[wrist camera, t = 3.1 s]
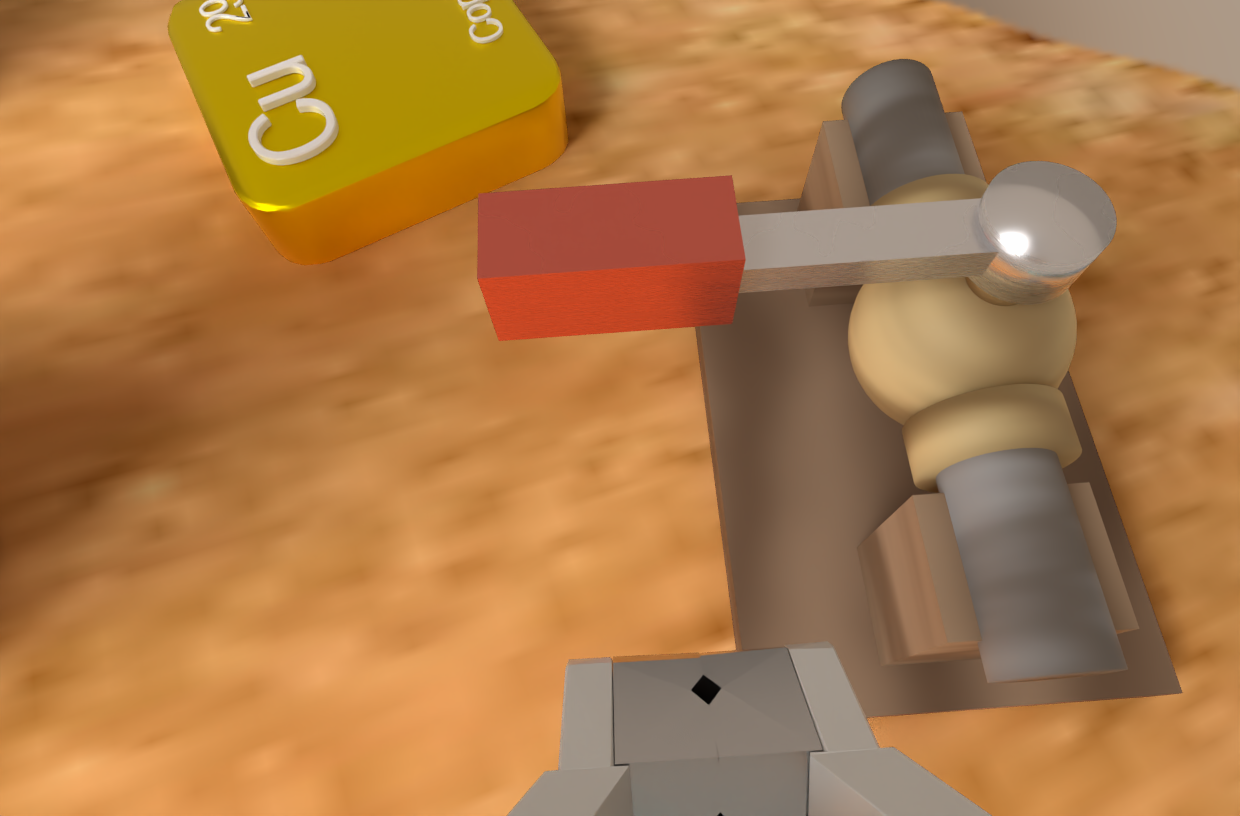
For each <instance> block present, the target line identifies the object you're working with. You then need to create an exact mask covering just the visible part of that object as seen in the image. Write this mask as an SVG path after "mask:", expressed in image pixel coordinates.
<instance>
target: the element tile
mask: <svg viewBox="0 0 1240 816" xmlns="http://www.w3.org/2000/svg"><path fill="white" fill-rule="evenodd" d="M168 33H169V37H170V39H171V42H172V44H173V47H174V49H175V51H176V54H177V56H178V59H179V61H180V63H181V66H182V68H183V70H184V73H185V75H186V78H187V80H188V82H189V85H190V87H191V89H192V92H193V94H194V97H195V99H196V101H197V104H198V106H199V108H200V111H201V113H202V116H203V118H204V120H205V123H206V125H207V127H208V130H209V132H210V135H211V137H212V139H213V142H214V144H215V146H216V149H217V151H218V154H219V156H220V158H221V161H222V163H223V165H224V168H225V170H226V173H227V175H228V177H229V180H230V182H231V185H232V187H233V189H234V192H235V193H236V195H237V196H238V198H239V199H240V201H241V202H242V203H243V205H244V206H245V208H246V209H247V210H248V212H249V213H250V214H251V216H252V217H253V219H254V220H255V221H256V223H257V224H258V225H259V227H260V228H261V229H262V231H263V232H264V234H265V235H266V236H267V238H268V239H269V240H270V242H271V243H272V245H273V246H274V247H275V249H276V250H277V251H278V253H279V254H281V255H282V256H283V257H285V258H286V259H287V260H289V261H290V262H293V263H297V264H301V265H313V264H322V263H326V262H330V261H333V260H335V259H337V258H339V257H342V256H344V255H346V254H349V253H351V252H353V251H355V250H358V249H360V248H362V247H365V246H367V245H369V244H372V243H374V242H376V241H378V240H381V239H383V238H385V237H388V236H390V235H392V234H395V233H397V232H399V231H401V230H404V229H406V228H408V227H411V226H413V225H415V224H417V223H420V222H422V221H424V220H427V219H429V218H431V217H434V216H436V215H438V214H440V213H443V212H445V211H447V210H450V209H452V208H454V207H456V206H459V205H461V204H463V203H466V202H468V201H470V200H473V199H475V198H477V197H478V194H480V193H489V192H491V191H493V190H496V189H498V188H500V187H502V186H505V185H507V184H509V183H512V182H514V181H516V180H518V179H521V178H523V177H525V176H528V175H530V174H532V173H535V172H537V171H539V170H541V169H544V168H545V167H547V166H549V165H550V164H552V163H554V162H555V161H556V160H557V159H558V158H559V157H560V156H561V155H562V154H563V153H564V151H565V149H566V146H567V144H568V131H567V122H566V114H565V105H564V97H563V89H562V80H561V72H560V69H559V67H558V65H557V63H556V60H555V58H554V57H553V56H552V54H551V53H550V51H549V50H548V49H547V47H546V46H545V45H544V43H543V42H542V40H541V39H540V38H539V36H538V35H537V33H536V32H535V31H534V29H533V28H532V27H531V25H530V24H529V22H528V21H527V20H526V18H525V17H524V15H523V14H522V13H521V11H520V10H519V8H518V7H517V6H516V4H515V3H514V2H513V0H182V1H180V2H178V3H177V4H176V5H175V6H174V7H173V10H172V13H171V14H170V17H169V22H168Z"/></svg>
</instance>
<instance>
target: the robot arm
mask: <svg viewBox="0 0 1240 816" xmlns="http://www.w3.org/2000/svg"><path fill="white" fill-rule="evenodd" d="M507 816H992V815H990V814H989V813H987V812H986V811H985V810H983V809H982V808H980V807H979V806H977V805H976V804H975V803H973V802H972V801H970V800H969V799H967V798H966V797H965V796H963V795H962V794H960V793H959V792H957V791H956V790H954V789H953V788H952V787H950V786H949V785H947V784H946V783H944V782H943V781H942V780H940V779H939V778H937V777H936V776H934V775H933V774H932V773H930V772H929V771H927V770H926V769H924V768H923V767H922V766H920V765H919V764H917V763H916V762H914V761H913V760H912V759H910V758H909V757H907V756H906V755H904V754H903V753H902V752H900V751H899V750H897V749H896V748H894V747H890V748H880V747H879V745H878V743H877V740H876V738H875V736H874V734H873V732H872V729H871V727H870V725H869V723H868V721H867V718H866V716H865V714H864V712H863V710H862V708H861V705H860V703H859V701H858V699H857V697H856V694H855V692H854V690H853V688H852V686H851V683H850V681H849V679H848V677H847V675H846V672H845V670H844V668H843V666H842V664H841V661H840V659H839V657H838V655H837V653H836V650H835V648H834V646H833V645H831V644H830V643H829V642H828V641H824V642H814V643H803V644H793V645H784V647H774V648H760V649H747V650H734V651H720V652H707V653H680V654H659V655H637V656H616V657H613V660H612V658H610V657H604V658H587V659H570V660H569V661H568V663H567V666H566V670H565V684H564V698H563V712H562V725H561V739H560V753H559V767H558V770H556V771H545V772H544V773H543V774H542V775H541V776H540V777H539V778H538V780H537V781H536V782H535V783H534V784H533V785H532V787H531V788H530V789H529V790H528V791H527V792H526V794H525V795H524V796H523V797H522V798H521V799H520V801H519V802H518V803H517V804H516V805H515V806H514V808H513V809H512V810H511V811H510V812H509V813H508V815H507Z"/></svg>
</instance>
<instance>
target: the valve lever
mask: <svg viewBox="0 0 1240 816" xmlns="http://www.w3.org/2000/svg"><path fill="white" fill-rule="evenodd" d="M1115 231H1116V213H1115V210H1114V207H1113V204H1112V202H1111V201H1110V199H1109V197H1108V196H1107V194H1106V193H1105V192H1104V191H1103V189H1102V188H1101V187H1100V186H1099V185H1098V184H1097V183H1096V182H1094V181H1093V180H1092V179H1090V178H1089V177H1088V176H1086V175H1084V174H1083V173H1081V172H1079V171H1077V170H1075V169H1073V168H1070V167H1068V166H1065V165H1061V164H1058V163H1053V162H1046V161H1029V162H1022V163H1018V164H1015V165H1012V166H1010V167H1008V168H1006V169H1004V170H1003V171H1001V172H1000V173H998V174H997V175H996V176H995V177H994V178H993V180H992V181H991V183H990V184H989V186H988V187H987V189H986V191H985V192H984V194H983V196H982V197H981V198H978V199H964V200H950V201H936V202H922V203H909V204H895V205H881V206H867V207H853V208H839V209H825V210H811V211H797V212H783V213H769V214H755V215H741V216H738V210H737V204H736V198H735V192H734V186H733V180H732V176H718V177H704V178H690V179H676V180H662V181H648V182H634V183H620V184H606V185H592V186H578V187H564V188H550V189H536V190H522V191H508V192H494V193H480V194H478V270H477V279H478V282H479V285H480V288H481V291H482V293H483V296H484V299H485V302H486V305H487V308H488V311H489V314H490V316H491V319H492V322H493V325H494V328H495V331H496V334H497V337H498V340H499V341H503V340H517V339H531V338H545V337H559V336H572V335H586V334H600V333H614V332H628V331H641V330H655V329H669V328H683V327H697V326H710V325H724V324H732V322H733V317H734V312H735V307H736V303H737V298H738V293H749V292H763V291H777V290H791V289H804V288H818V287H832V286H846V285H860V284H874V283H887V282H901V281H915V280H929V279H943V278H957V277H969V279H970V280H971V281H972V282H973V283H974V284H975V285H977V286H978V287H979V288H980V289H982V290H983V291H985V292H986V293H988V294H990V295H991V296H993V297H996V298H998V299H1000V300H1003V301H1007V302H1010V303H1015V304H1024V305H1031V304H1040V303H1044V302H1048V301H1051V300H1053V299H1055V298H1057V297H1059V296H1060V295H1062V294H1063V293H1064V292H1065V291H1066V290H1067V289H1068V288H1069V287H1070V286H1071V285H1072V284H1073V283H1074V282H1075V280H1076V279H1077V278H1078V277H1079V276H1080V275H1081V274H1082V273H1083V272H1084V271H1085V270H1086V269H1087V267H1088V266H1089V265H1090V264H1091V263H1092V262H1093V261H1094V260H1095V259H1096V258H1097V257H1098V256H1099V254H1100V253H1101V252H1102V251H1103V250H1104V249H1105V248H1106V247H1107V246H1108V245H1109V243H1110V242H1111V240H1112V239H1113V237H1114V234H1115Z"/></svg>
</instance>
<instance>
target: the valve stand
mask: <svg viewBox="0 0 1240 816" xmlns="http://www.w3.org/2000/svg"><path fill="white" fill-rule="evenodd" d="M841 108H842V114H843V118H844V120H836V121H823V123H822V127H821V130H820V133H819V137H818V140H817V144H816V147H815V151H814V154H813V158H812V161H811V165H810V168H809V172H808V175H807V178H806V182H805V185H804V189H803V192H802V196H801V199H788V200H774V201H760V202H747V203H736V204H737V210H738V216H741V215H755V214H769V213H783V212H797V211H811V210H825V209H839V208H853V207H867V206H881V205H895V204H909V203H922V202H936V201H950V200H964V199H978V198H981V197H982V196H983V194H984V192H985V191H986V189H987V187H988V186H989V184H987V183H986V180H985V177H984V174H983V171H982V168H981V165H980V163H979V160H978V157H977V154H976V151H975V148H974V145H973V142H972V139H971V136H970V133H969V130H968V128H967V125H966V122H965V119H964V116H963V113H962V112H949V113H944V110H943V107H942V104H941V101H940V97H939V94H938V91H937V88H936V85H935V82H934V79H933V76H932V74H931V71H930V70H929V68H928V67H927V66H925V65H924V64H922V63H921V62H918V61H915V60H910V59H898V60H892V61H888V62H884V63H881V64H879V65H877V66H874V67H873V68H871V69H869V70H867V71H866V72H864V73H863V74H862V75H860V76H859V77H858V78H857V79H856V80H855V81H854V82H853V83H852V84H851V85H850V86H849V88H848V89H847V91H846V93H845V94H844V97H843V100H842V107H841ZM695 329H696V337H697V345H698V352H699V360H700V368H701V376H702V384H703V392H704V400H705V408H706V415H707V423H708V431H709V439H710V447H711V455H712V463H713V471H714V478H715V486H716V494H717V502H718V510H719V518H720V526H721V534H722V541H723V549H724V557H725V565H726V573H727V581H728V589H729V597H730V604H731V612H732V620H733V628H734V636H735V644H736V650H747V649H760V648H774V647H784V645H793V644H803V643H814V642H824V641H828V642H829V643H830V644H831V645H833V646H834V648H835V650H836V653H837V655H838V657H839V659H840V661H841V664H842V666H843V668H844V670H845V672H846V675H847V677H848V679H849V681H850V683H851V686H852V688H853V690H854V692H855V694H856V697H857V699H858V701H859V703H860V705H861V708H862V710H863V712H864V714H865V716H866V718H871V717H884V716H897V715H911V714H924V713H937V712H951V711H964V710H977V709H990V708H1004V707H1017V706H1030V705H1044V704H1057V703H1070V702H1084V701H1097V700H1110V699H1124V698H1137V697H1150V696H1161V695H1170V694H1179V693H1182V690H1181V687H1180V684H1179V681H1178V679H1177V676H1176V673H1175V670H1174V667H1173V665H1172V662H1171V659H1170V656H1169V653H1168V650H1167V648H1166V645H1165V642H1164V639H1163V636H1162V633H1161V631H1160V628H1159V625H1158V622H1157V619H1156V616H1155V614H1154V611H1153V608H1152V605H1151V602H1150V600H1149V597H1148V594H1147V591H1146V588H1145V585H1144V583H1143V580H1142V577H1141V574H1140V571H1139V568H1138V566H1137V563H1136V560H1135V557H1134V554H1133V552H1132V549H1131V546H1130V543H1129V540H1128V537H1127V535H1126V532H1125V529H1124V526H1123V523H1122V520H1121V518H1120V515H1119V512H1118V509H1117V506H1116V504H1115V501H1114V498H1113V495H1112V492H1111V489H1110V487H1109V484H1108V481H1107V478H1106V475H1105V472H1104V470H1103V467H1102V464H1101V461H1100V458H1099V456H1098V453H1097V450H1096V447H1095V444H1094V441H1093V439H1092V436H1091V433H1090V430H1089V427H1088V424H1087V422H1086V419H1085V416H1084V413H1083V410H1082V408H1081V405H1080V402H1079V399H1078V396H1077V393H1076V391H1075V388H1074V385H1073V382H1072V379H1071V376H1070V374H1069V371H1068V369H1069V366H1070V364H1071V361H1072V358H1073V355H1074V351H1075V346H1076V340H1077V319H1076V312H1075V308H1074V304H1073V301H1072V298H1071V294H1070V292H1069V290H1068V289H1067V290H1066V291H1065V292H1064V293H1063V294H1062V295H1060V296H1059V297H1057V298H1055V299H1053V300H1051V301H1048V302H1044V303H1040V304H1031V305H1024V304H1015V303H1010V302H1007V301H1003V300H1000V299H998V298H996V297H993V296H991V295H990V294H988V293H986V292H985V291H983V290H982V289H980V288H979V287H978V286H977V285H975V284H974V283H973V282H972V281H971V280H970V279H969V277H957V278H943V279H929V280H915V281H901V282H887V283H874V284H860V285H846V286H832V287H818V288H804V289H791V290H777V291H763V292H749V293H738V298H737V303H736V307H735V312H734V317H733V322H732V324H724V325H710V326H697V327H695Z"/></svg>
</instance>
